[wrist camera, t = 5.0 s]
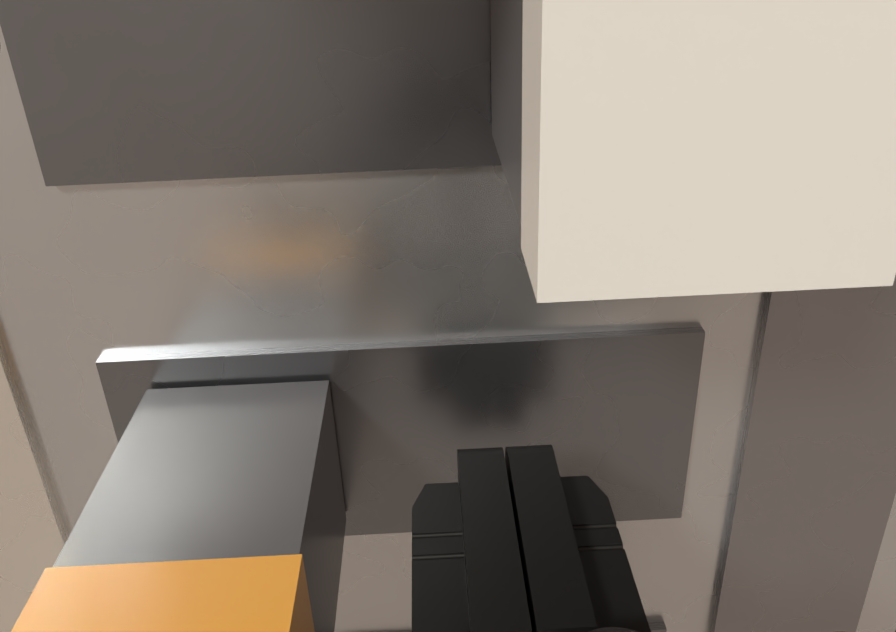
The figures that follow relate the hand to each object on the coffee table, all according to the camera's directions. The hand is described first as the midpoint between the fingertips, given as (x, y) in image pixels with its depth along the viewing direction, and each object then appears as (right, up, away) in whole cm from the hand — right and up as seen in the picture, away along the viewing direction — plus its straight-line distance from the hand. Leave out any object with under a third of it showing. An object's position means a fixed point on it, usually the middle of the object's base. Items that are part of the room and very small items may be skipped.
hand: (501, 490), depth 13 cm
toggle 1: (-4, 0, +1) cm, 4 cm away
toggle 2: (+1, +7, -2) cm, 7 cm away
